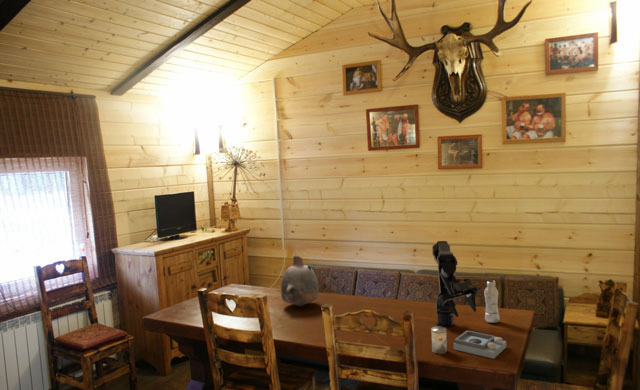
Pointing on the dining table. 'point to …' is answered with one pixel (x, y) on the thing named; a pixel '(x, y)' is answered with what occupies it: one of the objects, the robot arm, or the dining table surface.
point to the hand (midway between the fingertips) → (466, 314)
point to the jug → (299, 284)
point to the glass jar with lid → (439, 340)
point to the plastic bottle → (491, 302)
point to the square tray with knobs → (479, 344)
